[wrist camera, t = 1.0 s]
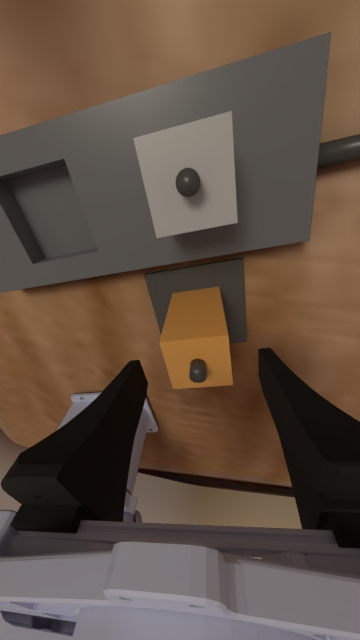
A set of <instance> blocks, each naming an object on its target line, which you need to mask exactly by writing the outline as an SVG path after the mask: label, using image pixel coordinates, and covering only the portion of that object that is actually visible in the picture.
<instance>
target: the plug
mask: <svg viewBox="0 0 360 640" xmlns="http://www.w3.org/2000/svg"><path fill="white" fill-rule="evenodd" d="M159 343H160V347H161V350H162V353H163V357H164V360H165V364H166V367H167V370H168V374H169V377H170V380H171V384H172V387H173V389H184V388H199V387H213V386H227V385H233V378H232V368H231V358H230V347H229V337H228V331H227V325H226V320H225V315H224V310H223V304H222V299H221V294H220V288H219V287H213V288H206V289H199V290H192V291H185V292H178V293H172V297H171V300H170V304H169V308H168V312H167V315H166V319H165V323H164V327H163V330H162V334H161V338H160V341H159Z"/></svg>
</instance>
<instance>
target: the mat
mask: <svg viewBox="0 0 360 640" xmlns="http://www.w3.org/2000/svg"><path fill="white" fill-rule="evenodd" d="M144 276H145V280H146V283H147V287H148V290H149V294H150V297H151V301H152V304H153V308H154V311H155V315H156V318H157V322H158V325H159V329H160V332H161V334H162V330H163V327H164V323H165V319H166V315H167V312H168V308H169V304H170V300H171V297H172V293H178V292H185V291H192V290H199V289H206V288H213V287H219V288H220V294H221V299H222V304H223V310H224V315H225V320H226V325H227V331H228V337H229V343H237V342H247V341H246V320H245V298H244V276H243V258H237V259H231V260H225V261H219V262H213V263H207V264H201V265H195V266H189V267H183V268H177V269H171V270H165V271H158V272H152V273H146V274H144Z"/></svg>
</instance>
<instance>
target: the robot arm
mask: <svg viewBox="0 0 360 640" xmlns="http://www.w3.org/2000/svg"><path fill="white" fill-rule="evenodd" d="M258 356H259V378H260V382H261V386H262V390H263V393H264V396H265V399H266V401H267V404H268V407H269V409H270V412H271V415H272V417H273V420H274V423H275V425H276V428H277V431H278V434H279V437H280V441H281V445H282V449H283V452H284V456H285V460H286V464H287V467H288V471H289V475H290V479H291V483H292V487H293V491H294V495H295V499H296V504H297V508H298V512H299V517H300V521H301V525H302V529H284V528H260V527H237V526H211V525H187V524H162V523H142V519H141V515H140V513H139V511H137V510H135V508H136V503H137V497H134V496H132V494H133V489H134V485H135V480H136V476H137V471H138V467H139V463H140V458H141V454H142V449H143V445H144V440H145V436H146V432H157V431H158V426H157V423H156V421H155V418H154V416H153V413H152V411H151V408H150V406H149V403H148V400H147V398H146V393H147V386H148V382H147V379H146V377H145V374H144V371H143V369H142V366H141V363H140V361H139V360H134V361H130V362H129V363H128V364H127V365H126V366H125V367H124V368H123V369H122V371H121V372H120V373H119V374H118V375H117V376H116V377H115V379H114V380H113V381H112V382H111V383H110V384H109V385H108V386H107V387H106V388H105V389H104V390H103V392H97V393H83V394H73V395H72V396H71V400H72V401H73V404H72V406H71V407H70V409H69V411H68V412H67V414H66V416H65V417H64V419H63V421H62V422H61V424H60V426H59V427H58V429H57V431H55V432H54V433H52V434H51V435H49V436H48V437H46V438H45V439H43V440H42V441H40V442H39V443H37V444H35V445H34V446H32V447H30V448H29V449H27V450H26V451H24V452H22V453H20V455H19V456H18V458H17V459H16V461H15V462H14V464H13V465H12V466H11V468H10V469H9V471H8V472H7V474H6V475H5V477H4V478H3V480H2V482H1V486H2V488H3V490H4V491H5V492H6V493H7V494H9V495H10V496H11V497H13V498H14V499H15V500H17V501H18V502H19V503H21V504H22V505H21V507H20V508H19V510H18V512H16V511H13V510H0V640H360V422H359V421H358V420H356V419H354V418H353V417H351V416H350V415H348V414H346V413H345V412H343V411H342V410H340V409H339V408H337V407H336V406H334V405H333V404H331V403H330V402H328V401H327V400H326V399H324V398H323V397H322V396H320V395H319V394H318V393H316V392H315V391H314V390H313V389H311V388H310V387H309V386H308V385H307V384H306V383H304V382H303V381H302V380H301V379H300V378H299V377H298V376H297V375H296V374H295V373H293V372H292V371H291V370H290V369H289V368H288V367H287V366H286V365H285V364H284V363H283V362H282V360H281V359H280V358H279V357H278V356H277V355H276V354H275V353H274V352H273V350H272V349H271V348H262V349H258ZM245 556H247V557H245ZM251 557H262V559H257V558H251Z"/></svg>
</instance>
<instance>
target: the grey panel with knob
mask: <svg viewBox="0 0 360 640" xmlns="http://www.w3.org/2000/svg"><path fill="white" fill-rule="evenodd" d="M330 39H331V32H330V33H326V34H323V35H320V36H317V37H314V38H310V39H307V40H304V41H301V42H298V43H294V44H291V45H288V46H285V47H282V48H278V49H275V50H272V51H269V52H266V53H262V54H259V55H256V56H253V57H250V58H247V59H243V60H240V61H237V62H234V63H231V64H227V65H224V66H221V67H218V68H215V69H211V70H208V71H205V72H202V73H199V74H195V75H192V76H189V77H186V78H183V79H179V80H176V81H173V82H170V83H167V84H163V85H160V86H157V87H154V88H151V89H147V90H144V91H141V92H138V93H135V94H131V95H128V96H125V97H122V98H119V99H116V100H112V101H109V102H106V103H103V104H100V105H96V106H93V107H90V108H87V109H84V110H80V111H77V112H74V113H71V114H68V115H64V116H61V117H58V118H55V119H52V120H48V121H45V122H42V123H39V124H36V125H32V126H29V127H26V128H23V129H20V130H16V131H13V132H10V133H7V134H4V135H0V293H2V292H8V291H14V290H20V289H26V288H31V287H37V286H43V285H49V284H55V283H61V282H67V281H73V280H79V279H85V278H91V277H97V276H102V275H108V274H114V273H120V272H126V271H132V270H138V269H144V268H150V267H156V266H162V265H167V264H173V263H179V262H185V261H191V260H197V259H203V258H209V257H215V256H221V255H227V254H233V253H238V252H244V251H250V250H256V249H262V248H268V247H274V246H280V245H286V244H292V243H298V242H304V241H309V240H310V230H311V221H312V211H313V202H314V192H315V183H316V173H317V168H322V167H326V166H331V165H335V164H340V163H344V162H349V161H353V160H358V159H360V134H358V135H354V136H350V137H346V138H341V139H337V140H333V141H329V142H324V143H320V135H321V125H322V116H323V106H324V97H325V87H326V77H327V68H328V58H329V49H330Z"/></svg>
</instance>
